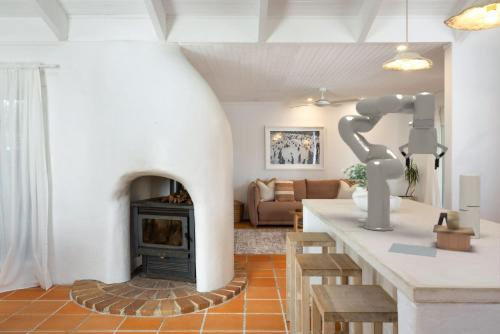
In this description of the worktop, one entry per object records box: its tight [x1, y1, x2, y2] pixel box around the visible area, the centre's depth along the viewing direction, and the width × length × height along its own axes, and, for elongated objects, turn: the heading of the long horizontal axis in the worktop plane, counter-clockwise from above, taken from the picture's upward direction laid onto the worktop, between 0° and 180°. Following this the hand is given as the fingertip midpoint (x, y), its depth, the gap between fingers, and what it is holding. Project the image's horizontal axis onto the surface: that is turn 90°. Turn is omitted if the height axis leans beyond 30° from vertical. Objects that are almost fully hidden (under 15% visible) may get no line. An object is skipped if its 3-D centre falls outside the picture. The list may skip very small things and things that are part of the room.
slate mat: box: [387, 242, 438, 258], centre depth 119 cm, size 14×14×1 cm
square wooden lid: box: [432, 210, 475, 236], centre depth 122 cm, size 12×12×7 cm
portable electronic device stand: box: [436, 212, 447, 225], centre depth 154 cm, size 9×8×8 cm
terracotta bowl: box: [436, 233, 471, 252], centre depth 122 cm, size 10×10×6 cm
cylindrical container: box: [458, 174, 481, 239], centre depth 142 cm, size 7×7×25 cm
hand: (421, 168), depth 137 cm, fingers open, 9 cm apart
